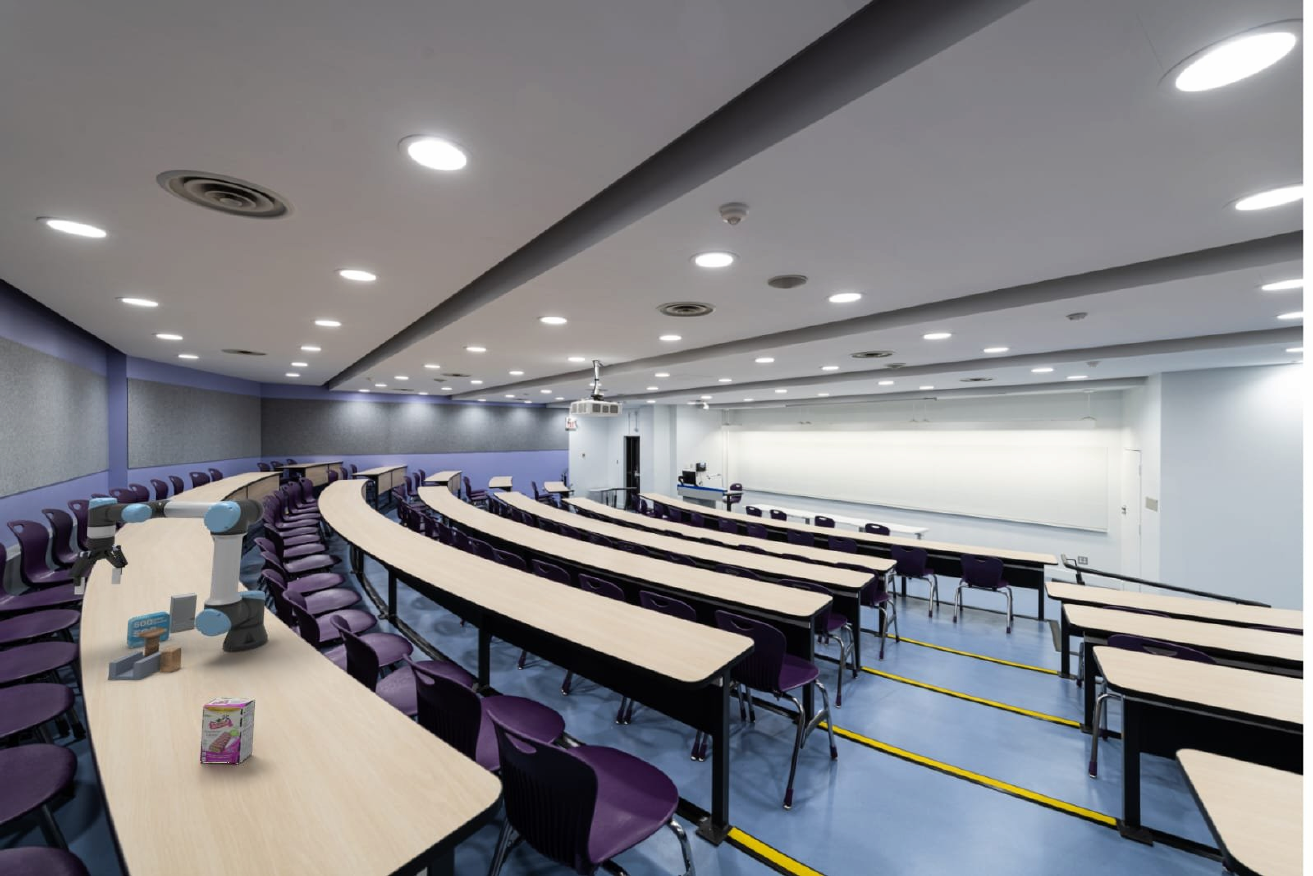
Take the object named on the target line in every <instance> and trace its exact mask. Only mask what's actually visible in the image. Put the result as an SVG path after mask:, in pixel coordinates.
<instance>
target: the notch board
mask: <svg viewBox="0 0 1313 876" xmlns="http://www.w3.org/2000/svg"><path fill="white" fill-rule="evenodd" d="M161 651H162V650H161ZM161 651H160V650H159V652H157V653H155V654H153V655H150V656H148V657H146V658H144V659H143V655H144V651H143V650H136V651H133V652H130V653H129V654H126V655H123V656H122V657H120V658H118V659H114V660H113V661H110V662H109V663H108V677H107V680H108V679H114V680H115V679H116V681H118V680H119V681H123V680H124V679H125V680H126V681H133V680H134V681H135V680H136V681H140V680H143V679H144V678H147V677H149V676H151V675H153V674H155V673H157V672H158V671H159V672H160V660H161ZM142 678H143V679H142ZM120 679H121V680H120ZM125 680H124V681H125Z"/></svg>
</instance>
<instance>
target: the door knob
mask: <svg viewBox="0 0 1313 876" xmlns="http://www.w3.org/2000/svg"><path fill="white" fill-rule="evenodd" d="M165 633H167V629H166V628H155V629H149V630H146V631H143V632H140V633H139V635H138V637H139V638H146V639H145V646H144V654H143V659H144V658H146V657H148V656H150V655H153V654H155V653H157V652H159V651H160V642H159V641H160V635H163V634H165Z"/></svg>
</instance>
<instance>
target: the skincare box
mask: <svg viewBox="0 0 1313 876" xmlns="http://www.w3.org/2000/svg"><path fill="white" fill-rule="evenodd" d="M197 598H198V595H197V593H195V592H191V593H189V592H188V593H181V594H173V595H170V606H169V613H168V614H169V615H170V628H169V633H171V634H174V633H178V632H185V631H188V630H192V629H195V619H196V613H197V612H196V611H197V600H198V599H197Z"/></svg>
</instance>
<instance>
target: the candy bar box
mask: <svg viewBox="0 0 1313 876" xmlns="http://www.w3.org/2000/svg"><path fill="white" fill-rule="evenodd" d="M202 708H203V709H202V723H201V738H200V739H201V741H200V753H199V762H200V761H201V762H227V763H228V762H229V763H238V764H237V765H240V764H241V763H240V762H241V761H242V760H244V759H245V758H246V757H247V756H249V755H250V756H252V754H253V744H254V743H253V742H254V728H255V727H254V726H255V712H256V711H255V710H256V709H255V708H256V698H236V697H235V698H234V697H216V698H214V699H213V700H211V701H209V702H208V703H206V704H204V705H203V706H202ZM250 756H249V757H250ZM246 759H247V758H246ZM246 759H245V760H246ZM245 760H244V761H245ZM239 763H240V764H239Z"/></svg>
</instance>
